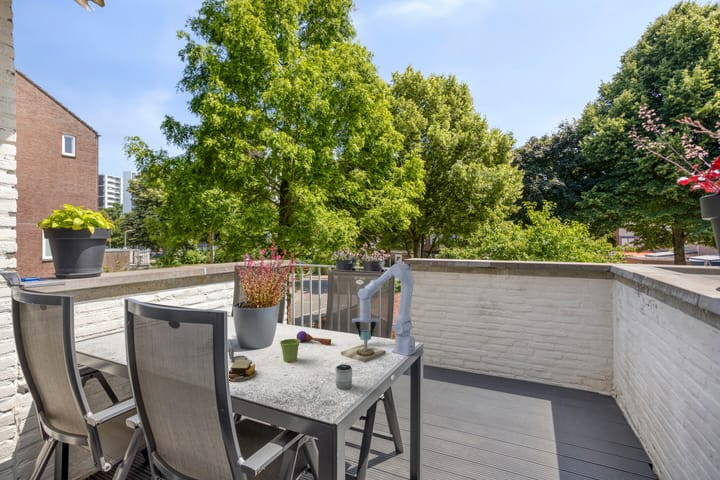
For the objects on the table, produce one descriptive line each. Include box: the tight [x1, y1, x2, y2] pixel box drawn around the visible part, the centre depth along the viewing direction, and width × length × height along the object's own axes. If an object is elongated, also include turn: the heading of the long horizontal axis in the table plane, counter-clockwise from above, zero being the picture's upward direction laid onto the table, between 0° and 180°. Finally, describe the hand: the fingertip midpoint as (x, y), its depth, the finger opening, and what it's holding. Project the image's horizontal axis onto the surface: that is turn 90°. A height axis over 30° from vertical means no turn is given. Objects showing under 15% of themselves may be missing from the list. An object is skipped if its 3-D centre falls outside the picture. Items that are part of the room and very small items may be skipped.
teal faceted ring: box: [359, 329, 372, 341], centre depth 185 cm, size 6×6×4 cm
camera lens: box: [335, 363, 353, 391], centre depth 132 cm, size 6×6×8 cm
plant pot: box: [279, 338, 301, 363], centre depth 161 cm, size 9×9×9 cm
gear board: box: [340, 340, 387, 363], centre depth 169 cm, size 15×16×6 cm
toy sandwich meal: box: [228, 359, 257, 382], centre depth 143 cm, size 12×14×5 cm
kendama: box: [296, 330, 332, 346], centre depth 188 cm, size 6×6×20 cm
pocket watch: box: [228, 339, 248, 362], centre depth 160 cm, size 8×8×10 cm
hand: (365, 336), depth 185 cm, fingers closed on teal faceted ring, 6 cm apart
